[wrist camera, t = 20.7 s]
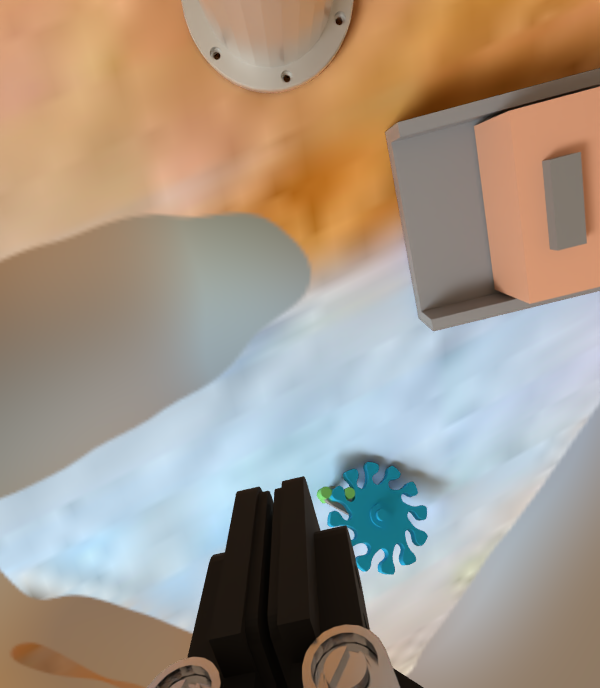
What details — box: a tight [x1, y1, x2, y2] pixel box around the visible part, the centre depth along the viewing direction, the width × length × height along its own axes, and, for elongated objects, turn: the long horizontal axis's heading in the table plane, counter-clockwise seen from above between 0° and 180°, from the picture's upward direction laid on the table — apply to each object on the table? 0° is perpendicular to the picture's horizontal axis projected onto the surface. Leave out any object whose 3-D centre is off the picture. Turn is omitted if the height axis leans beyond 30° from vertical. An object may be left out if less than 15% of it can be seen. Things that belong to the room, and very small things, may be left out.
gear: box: [317, 462, 428, 574], centre depth 45 cm, size 11×6×10 cm
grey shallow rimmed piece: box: [385, 68, 600, 331], centre depth 37 cm, size 20×16×4 cm
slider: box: [474, 87, 600, 304], centre depth 34 cm, size 9×13×7 cm
